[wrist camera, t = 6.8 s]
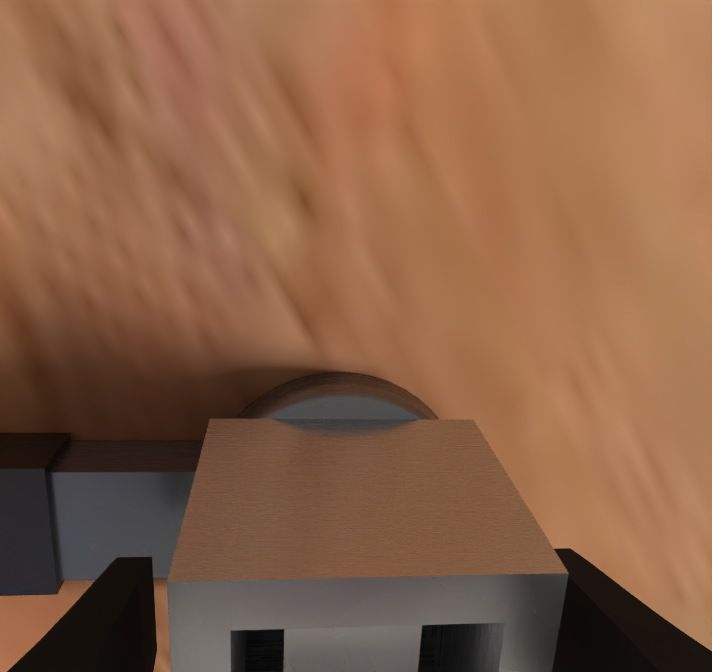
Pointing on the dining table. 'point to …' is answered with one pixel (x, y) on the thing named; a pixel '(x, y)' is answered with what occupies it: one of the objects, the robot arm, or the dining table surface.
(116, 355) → the dining table surface
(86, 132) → the dining table surface
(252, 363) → the dining table surface
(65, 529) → the ratchet
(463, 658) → the socket
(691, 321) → the dining table surface
